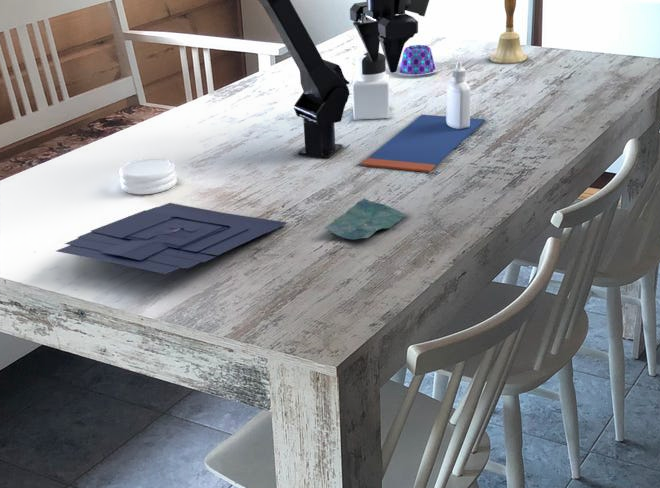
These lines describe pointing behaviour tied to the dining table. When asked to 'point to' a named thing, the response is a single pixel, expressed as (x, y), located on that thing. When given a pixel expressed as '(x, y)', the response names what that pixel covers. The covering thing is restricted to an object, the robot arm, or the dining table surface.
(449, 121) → the eye dropper bottle
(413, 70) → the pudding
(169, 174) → the white round disc stack
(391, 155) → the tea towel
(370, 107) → the medicine bottle
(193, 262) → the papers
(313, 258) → the dining table surface
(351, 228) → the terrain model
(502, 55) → the hand bell
